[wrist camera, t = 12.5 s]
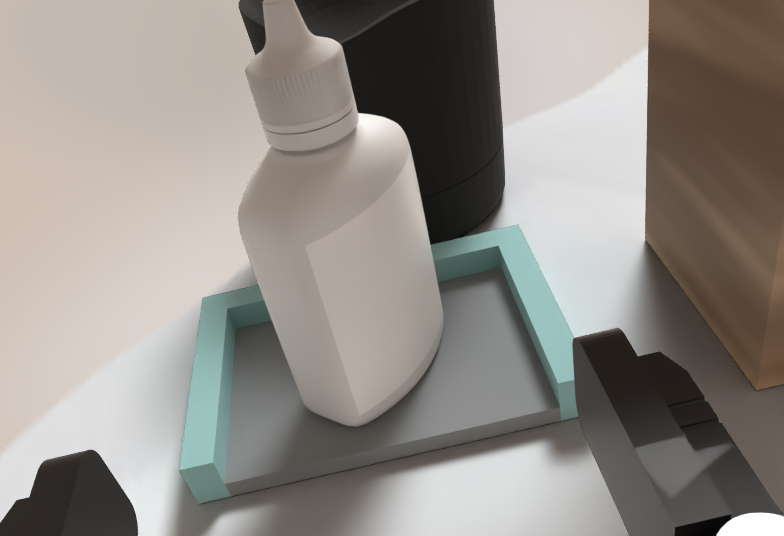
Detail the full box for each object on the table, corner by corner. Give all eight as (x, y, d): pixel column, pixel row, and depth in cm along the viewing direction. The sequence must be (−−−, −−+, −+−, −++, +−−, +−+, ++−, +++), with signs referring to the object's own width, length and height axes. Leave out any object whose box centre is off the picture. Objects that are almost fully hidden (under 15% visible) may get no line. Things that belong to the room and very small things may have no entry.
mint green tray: (198, 503, 22) (178, 470, 21) (216, 329, 28) (202, 297, 27) (594, 413, 22) (592, 375, 21) (521, 258, 28) (518, 224, 27)
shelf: (93, 556, 21) (-522, -233, 10) (141, 347, 28) (-181, -244, 17) (849, 383, 21) (1111, -632, 10) (701, 217, 28) (751, -471, 17)
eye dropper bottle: (488, 364, 23) (428, -23, 16) (329, 450, 22) (186, 64, 15) (419, 296, 26) (345, -51, 19) (277, 366, 25) (140, 18, 18)
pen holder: (435, 129, 38) (400, -76, 32) (560, 194, 31) (545, -52, 25) (275, 205, 35) (203, -5, 29) (374, 296, 28) (306, 43, 22)
